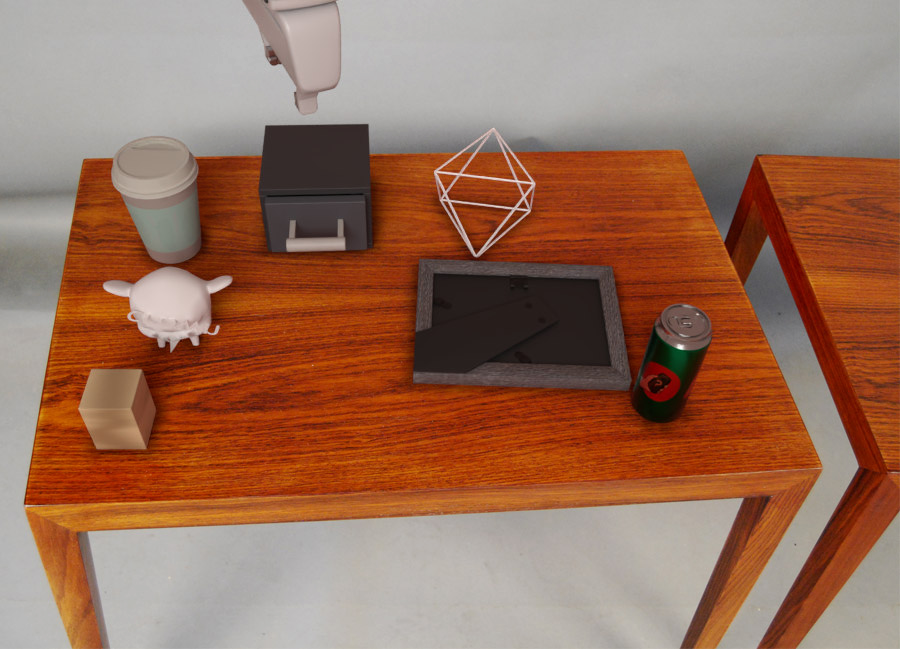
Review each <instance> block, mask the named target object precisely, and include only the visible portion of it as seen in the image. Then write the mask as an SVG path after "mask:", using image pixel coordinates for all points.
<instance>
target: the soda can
mask: <svg viewBox="0 0 900 649" xmlns="http://www.w3.org/2000/svg"><path fill="white" fill-rule="evenodd" d="M713 335H714V334H713V329H712V321H711V319H710V316H708V314H706V312H705V311H703V310H702V309H700V308H699V307H697V306H696V305H695V306H694V305H692V304H688V303H674V304H671V305H669V306H667V307H665V308H664V310H662V311H661V312H660V313H659V314H658V315H657V316H656V318H655V319H654V322H653V325H652V328H651V331H650V335H649V338H648V341H647V343H646V348H645V351H644V353H643V357H642V360H641V363H640V366H639V369H638V372H637V375H636V379H635V383H634V385H633V388H632V391H631V395H630V402H631V405H632V407H633V409H634V410H635V412H636V413H637V414H638V415H639V416H640V417H641V418H643V419H644V420H646V421H648V422H651V423H653V424H669V423H673V422H675V421H677V420H678V419H679V418H681V416H682V415H683V412H684V410H685V407H686V406H687V403H688V400H689V399H690V395H691V394H692V390H693V389H694V386H695V383H696V381H697V378H698V376H699V373H700V371H701V368H702V365H703V363H704V360H705V358H706V355H707V353H708V350H709V348H710V346H711V343H712V340H713V337H714V336H713Z"/></svg>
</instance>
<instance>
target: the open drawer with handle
mask: <svg viewBox="0 0 900 649" xmlns="http://www.w3.org/2000/svg"><path fill="white" fill-rule="evenodd" d="M265 210H266V217H267V223H268V230H269V236H270V243H271V249H272V251H271V252H272V253H299V252H300V253H301V252H302V253H303V252H304V253H306V252H338V251H367V250H368V249H367V225H366V201H365V195H360V194H316V195H274V197H265Z"/></svg>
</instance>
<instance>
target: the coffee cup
mask: <svg viewBox="0 0 900 649" xmlns="http://www.w3.org/2000/svg"><path fill="white" fill-rule="evenodd" d="M110 174H111V182H112V185H113V187H114V188H115V189H116V191H117V192H119V193H120V195H121V198H122V200H123V202H124V204H125V207H126V208H127V210H128V213H129V215H130V218H131V219H132V221H133V223H134V225H135V228H136V230H137V232H138V234H139V236H140V240H142V243H143V245H144V247H145V249H146V251H147V254H148V255H149V257H150V258H151V259H152V260H154V261H156V262H158V263H161V264H167V265H168V264H169V265H173V264H180V263H183V262H186V261H188V260H190V259H192V258H193V257H194V256H196V255H197V254H198V253H199V252H200V250H201V248H202V244H203V243H202V229H201V218H200V217H201V216H200V203H199V192H198V179H197V177H198V175H199V165H198V162H197V160H196V157H195V156H194V155H193V153H192V152H191V151H190V150H189V148H188V147H187V145H186V144H185V143H184V142H182V141H181V140H179V139H177V138H174V137H171V136H165V135H164V136H163V135H151V136H145V137H140V138H137V139H134V140H132V141H129V142H127V143H126V144H124V145H123V146H122V147H120V148H119V149H118V150H117V151H116V153H115V154H114V156H113V159H112V167H111V171H110Z"/></svg>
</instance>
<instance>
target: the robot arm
mask: <svg viewBox="0 0 900 649" xmlns="http://www.w3.org/2000/svg"><path fill="white" fill-rule="evenodd" d="M241 1H242V3H243V4H244V6H245V7H246V9H247V11H248V12H249V14H250V15H251V17H252V19H253V20H254V22H255V24H256V25H257V27H258V31H259V34H260V37H261V40H262V43H263V49H264V56H265V58H266V60H267V62H268V63H269V64H270V66H273V67H275V66H278V65H282V67H283V68H284V70H285V71H286V73H287V74H288V76H289V78H290V79H291V81H292V83H293V84H294V85H295V86H294V87H296V88H295V89H296V90H295V91H293V97H294V105H295V107H296V109H297V110H298V113H299V114H300V115H302V116H308V115H311V114H315V113H316V112H317V111H318V109H319V108H318V95H319V93H322V92H326V91H331V90H334V89H336V87H337V86H338V85H339V82H340V80H341V75H342V27H341V26H342V24H341V16H340V11H339V10H340V9H339V6H338V4H337V1H338V0H241Z"/></svg>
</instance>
